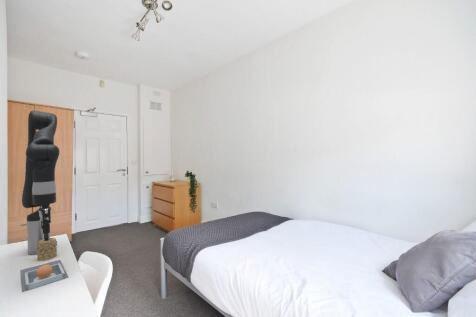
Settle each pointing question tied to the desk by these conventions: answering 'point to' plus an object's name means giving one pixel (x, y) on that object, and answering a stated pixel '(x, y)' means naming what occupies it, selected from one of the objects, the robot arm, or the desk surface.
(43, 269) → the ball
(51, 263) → the mat
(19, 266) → the desk surface
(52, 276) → the square tray
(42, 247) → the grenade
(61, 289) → the desk surface
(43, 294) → the desk surface
